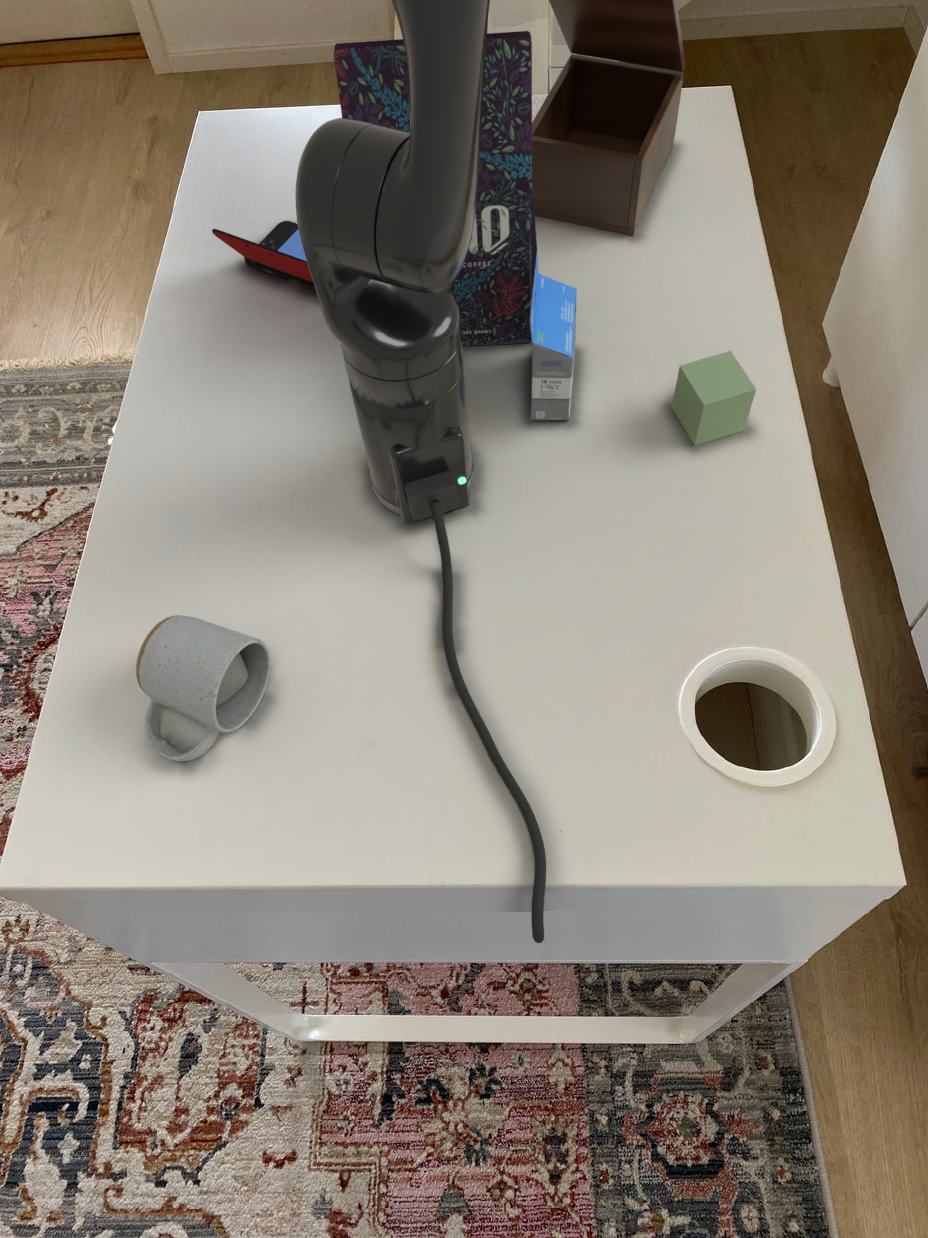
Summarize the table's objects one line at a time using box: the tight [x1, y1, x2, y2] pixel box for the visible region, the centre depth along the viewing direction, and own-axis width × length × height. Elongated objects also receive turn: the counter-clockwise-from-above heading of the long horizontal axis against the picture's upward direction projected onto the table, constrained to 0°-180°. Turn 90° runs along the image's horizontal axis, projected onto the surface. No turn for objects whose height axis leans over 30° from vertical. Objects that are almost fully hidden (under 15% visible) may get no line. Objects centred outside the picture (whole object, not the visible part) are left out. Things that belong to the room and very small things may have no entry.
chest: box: [532, 53, 685, 237], centre depth 102 cm, size 16×13×9 cm
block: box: [671, 350, 757, 447], centre depth 85 cm, size 5×5×6 cm
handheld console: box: [211, 220, 316, 292], centre depth 98 cm, size 12×11×7 cm
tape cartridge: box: [529, 250, 577, 422], centre depth 86 cm, size 9×4×12 cm, turn 174°
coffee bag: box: [333, 30, 538, 347], centre depth 84 cm, size 8×16×28 cm, turn 91°
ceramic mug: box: [135, 614, 272, 762], centre depth 73 cm, size 11×8×8 cm
